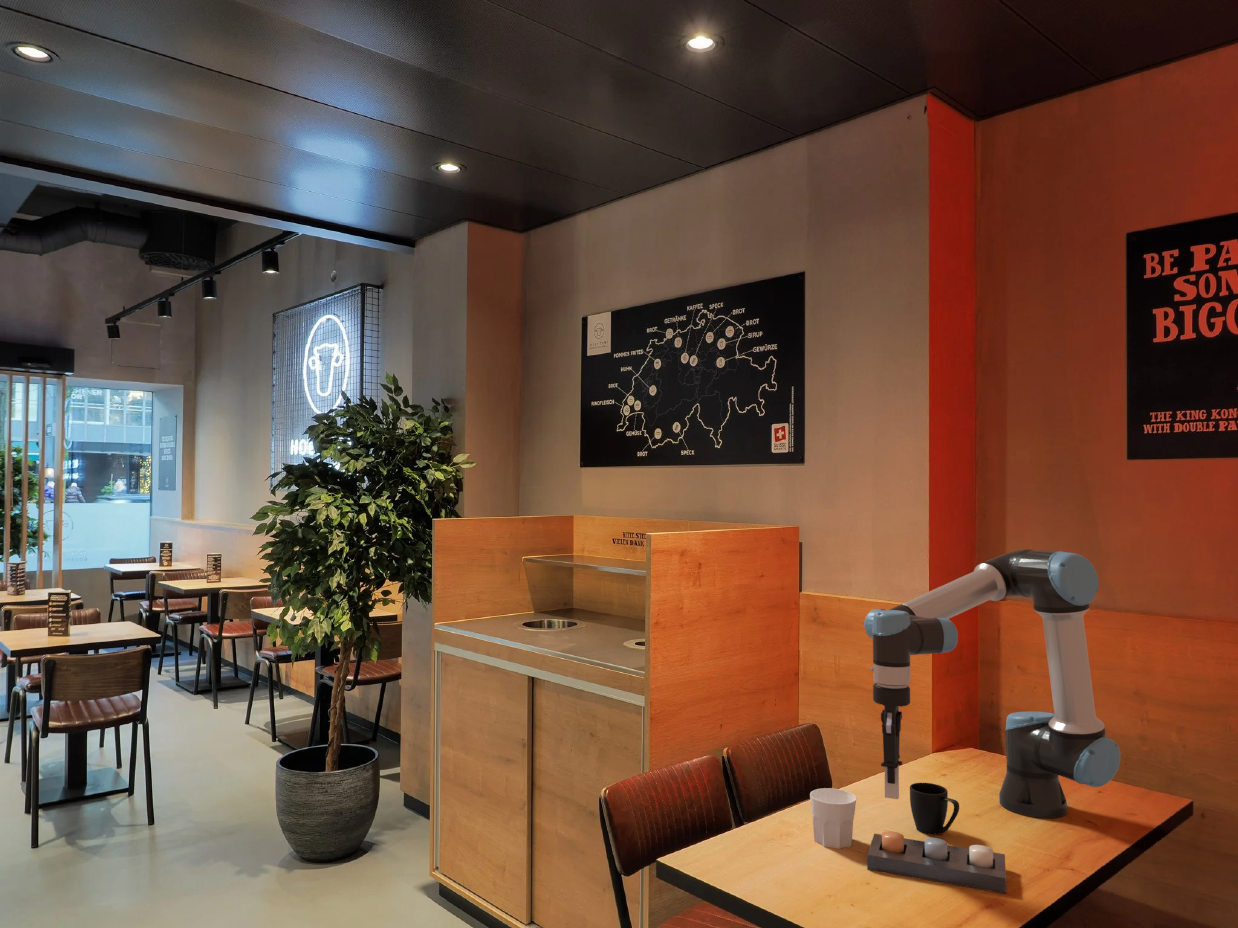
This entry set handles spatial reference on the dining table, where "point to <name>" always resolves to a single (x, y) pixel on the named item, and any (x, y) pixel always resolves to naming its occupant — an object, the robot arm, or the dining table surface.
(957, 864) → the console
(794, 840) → the dining table surface
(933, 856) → the button slate
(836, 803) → the cup
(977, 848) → the button cream
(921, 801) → the mug
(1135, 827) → the dining table surface
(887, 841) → the button orange
